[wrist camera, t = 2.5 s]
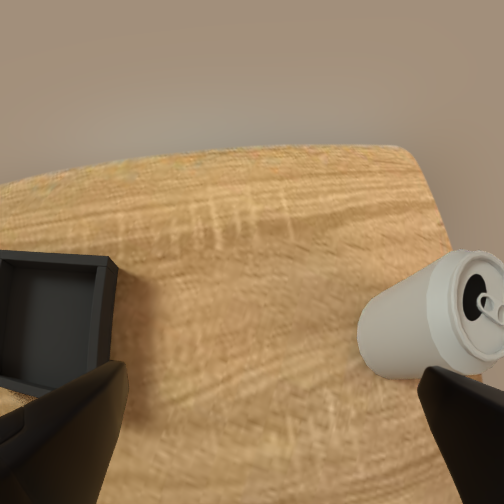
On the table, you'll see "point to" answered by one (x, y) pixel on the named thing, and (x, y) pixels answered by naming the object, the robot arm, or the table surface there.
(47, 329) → the black square open tray
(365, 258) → the table surface
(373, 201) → the table surface
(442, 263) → the can
